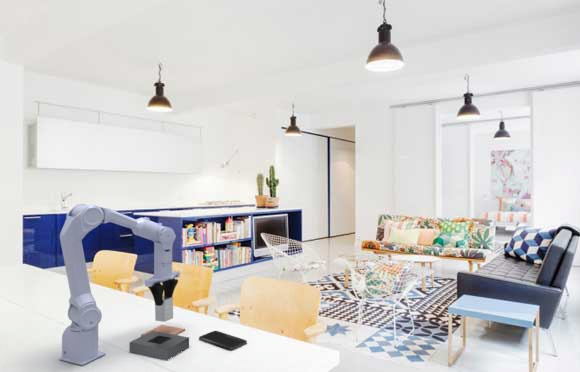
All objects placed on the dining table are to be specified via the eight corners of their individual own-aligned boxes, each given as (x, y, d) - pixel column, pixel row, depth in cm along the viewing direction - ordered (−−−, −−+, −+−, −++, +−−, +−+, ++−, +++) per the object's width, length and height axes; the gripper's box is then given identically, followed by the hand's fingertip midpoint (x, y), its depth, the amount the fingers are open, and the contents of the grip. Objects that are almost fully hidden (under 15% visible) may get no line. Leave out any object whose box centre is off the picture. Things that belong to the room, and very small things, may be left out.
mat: (140, 336, 131) (140, 334, 131) (161, 326, 140) (161, 324, 140) (165, 340, 127) (165, 339, 127) (185, 330, 136) (185, 328, 136)
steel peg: (155, 320, 131) (154, 299, 131) (163, 316, 135) (163, 295, 135) (165, 321, 129) (164, 300, 129) (173, 317, 133) (172, 297, 133)
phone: (230, 349, 119) (197, 337, 128) (230, 352, 119) (197, 340, 128) (248, 340, 126) (215, 330, 135) (248, 344, 126) (215, 333, 135)
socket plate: (129, 352, 118) (129, 342, 118) (153, 340, 128) (153, 330, 128) (167, 360, 113) (167, 349, 113) (189, 347, 122) (189, 337, 122)
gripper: (157, 267, 124) (157, 311, 124) (186, 259, 137) (186, 298, 137) (140, 265, 127) (140, 308, 127) (170, 257, 140) (170, 296, 140)
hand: (163, 303), depth 132 cm, fingers closed on steel peg, 4 cm apart
